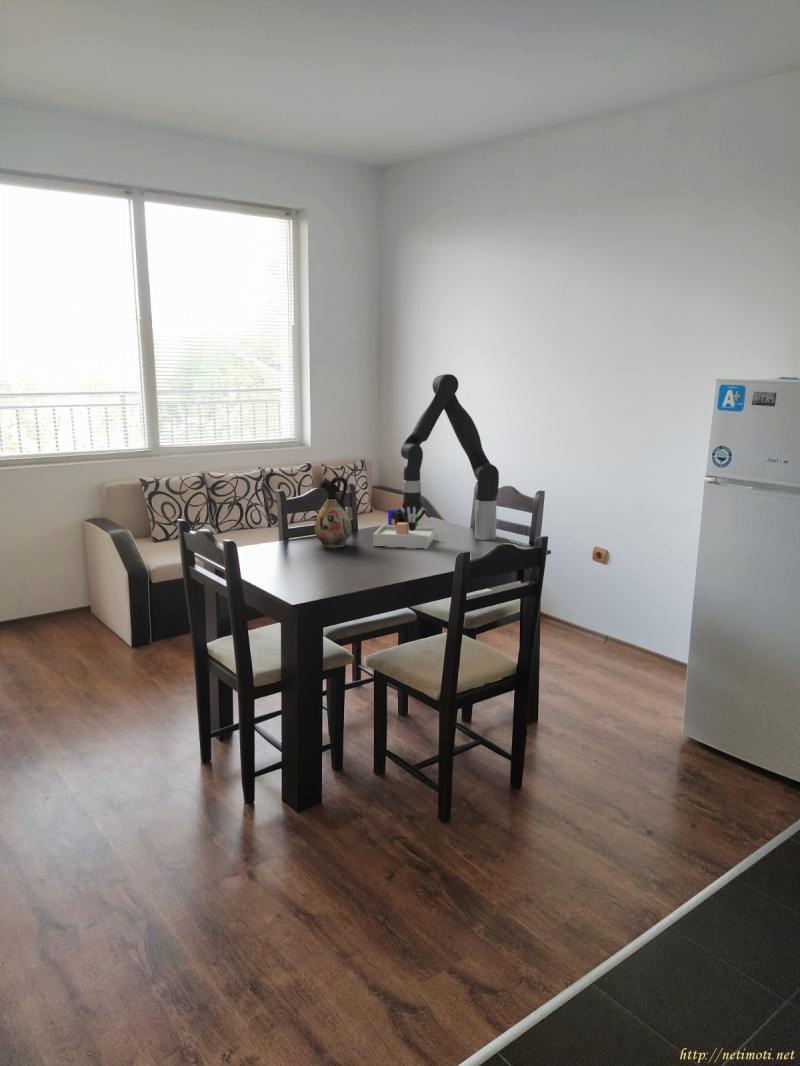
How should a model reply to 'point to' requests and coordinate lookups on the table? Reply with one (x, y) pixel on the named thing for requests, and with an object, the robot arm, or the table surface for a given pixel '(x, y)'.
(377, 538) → the box
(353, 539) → the table surface
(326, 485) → the ceramic jug
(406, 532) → the block
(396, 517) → the puzzle toy
